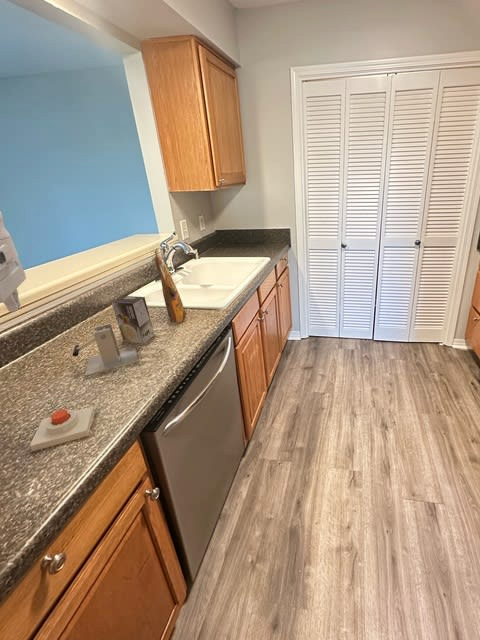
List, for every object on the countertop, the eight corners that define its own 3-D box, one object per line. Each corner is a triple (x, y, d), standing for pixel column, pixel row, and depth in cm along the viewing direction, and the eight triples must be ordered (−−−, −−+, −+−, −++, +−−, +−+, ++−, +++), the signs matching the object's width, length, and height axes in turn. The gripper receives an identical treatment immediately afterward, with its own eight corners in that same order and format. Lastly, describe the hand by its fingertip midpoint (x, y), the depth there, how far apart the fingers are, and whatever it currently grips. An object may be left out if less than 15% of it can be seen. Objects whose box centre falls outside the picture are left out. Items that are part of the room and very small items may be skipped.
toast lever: (76, 358, 96) (69, 353, 95) (78, 351, 100) (72, 345, 99) (110, 336, 98) (104, 330, 97) (111, 329, 102) (105, 324, 101)
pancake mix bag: (165, 328, 125) (147, 258, 114) (169, 309, 142) (154, 246, 131) (183, 325, 126) (168, 255, 115) (185, 307, 143) (172, 244, 132)
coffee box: (156, 336, 119) (146, 296, 112) (144, 345, 113) (133, 303, 107) (135, 335, 121) (123, 295, 115) (122, 343, 115) (110, 302, 109)
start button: (51, 426, 74) (48, 420, 73) (55, 417, 77) (52, 411, 76) (67, 422, 75) (65, 416, 74) (71, 413, 78) (68, 407, 77)
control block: (32, 451, 72) (26, 440, 70) (44, 424, 79) (39, 413, 78) (88, 436, 75) (83, 424, 74) (95, 411, 83) (91, 400, 81)
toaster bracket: (86, 379, 96) (72, 341, 91) (90, 361, 105) (77, 326, 100) (137, 365, 102) (127, 329, 97) (136, 349, 111) (127, 316, 106)
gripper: (-11, 246, 79) (11, 298, 85) (-48, 265, 62) (-17, 329, 68) (20, 242, 82) (40, 293, 87) (-7, 260, 65) (20, 321, 70)
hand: (15, 309), depth 77 cm, fingers closed
